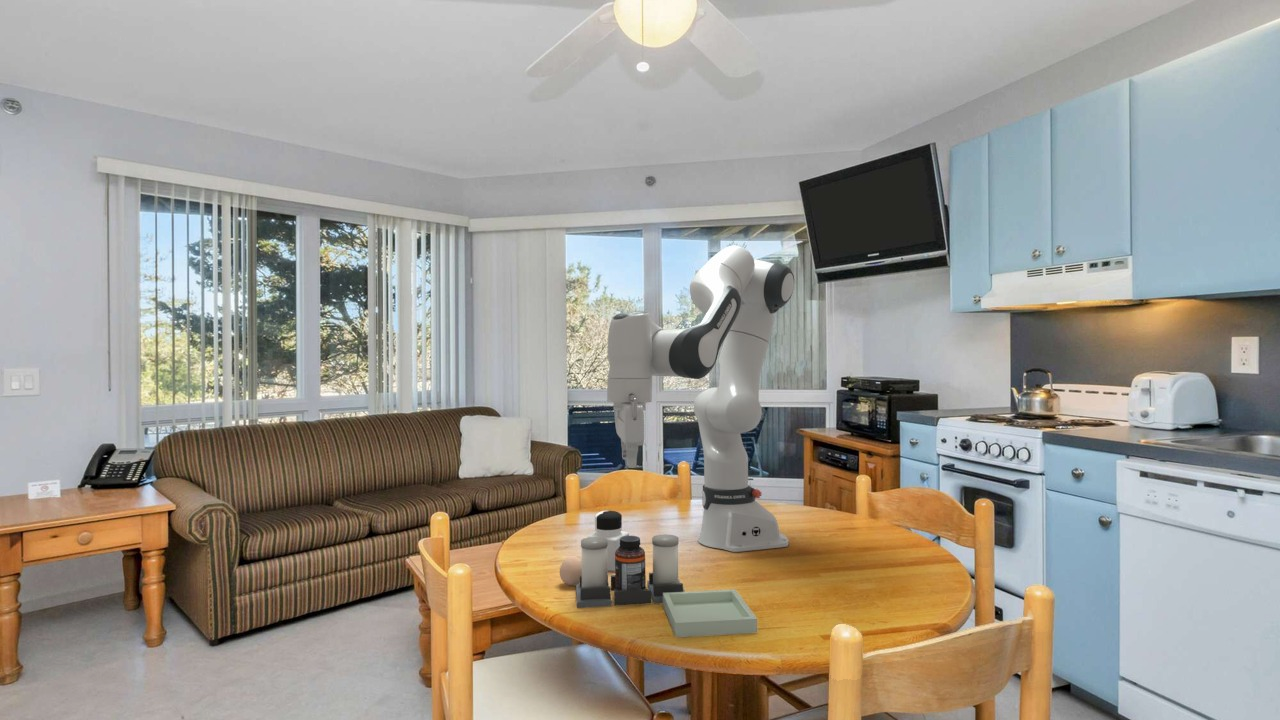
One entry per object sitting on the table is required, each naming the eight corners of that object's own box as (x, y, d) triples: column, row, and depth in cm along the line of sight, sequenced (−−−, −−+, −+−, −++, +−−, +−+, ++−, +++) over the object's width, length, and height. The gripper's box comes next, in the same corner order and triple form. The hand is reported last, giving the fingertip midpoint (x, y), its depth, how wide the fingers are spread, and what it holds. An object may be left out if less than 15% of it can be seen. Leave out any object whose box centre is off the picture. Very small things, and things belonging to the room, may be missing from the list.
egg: (556, 582, 133) (556, 554, 133) (580, 579, 135) (580, 551, 135) (563, 590, 129) (563, 561, 129) (587, 587, 131) (587, 558, 131)
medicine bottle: (629, 563, 146) (629, 510, 146) (615, 572, 139) (615, 517, 140) (602, 559, 149) (601, 507, 149) (586, 568, 142) (586, 514, 143)
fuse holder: (678, 584, 132) (678, 530, 132) (687, 602, 122) (687, 544, 122) (576, 588, 129) (575, 534, 129) (577, 607, 120) (576, 548, 120)
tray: (735, 601, 122) (735, 589, 122) (757, 632, 108) (757, 618, 108) (662, 605, 120) (662, 592, 120) (675, 637, 106) (675, 622, 106)
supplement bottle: (614, 590, 128) (614, 534, 128) (644, 589, 129) (643, 533, 129) (615, 601, 122) (615, 542, 122) (646, 600, 123) (646, 541, 123)
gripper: (652, 395, 116) (651, 472, 116) (639, 390, 137) (639, 455, 136) (617, 395, 115) (617, 472, 115) (610, 390, 136) (609, 456, 136)
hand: (629, 463), depth 126 cm, fingers open, 8 cm apart
